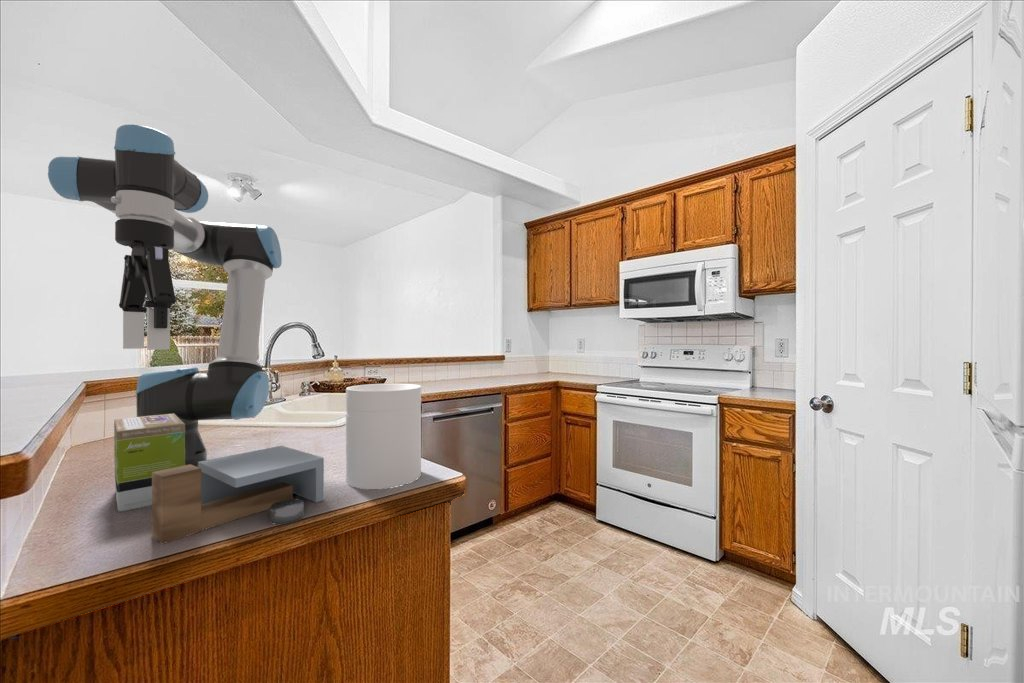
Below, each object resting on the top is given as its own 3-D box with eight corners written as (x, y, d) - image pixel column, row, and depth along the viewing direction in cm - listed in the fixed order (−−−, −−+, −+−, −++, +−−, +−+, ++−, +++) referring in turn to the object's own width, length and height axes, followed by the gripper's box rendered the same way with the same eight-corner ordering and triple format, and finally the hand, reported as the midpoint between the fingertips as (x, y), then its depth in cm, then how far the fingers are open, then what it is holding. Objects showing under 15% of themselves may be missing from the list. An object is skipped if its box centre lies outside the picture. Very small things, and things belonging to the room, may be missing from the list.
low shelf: (198, 505, 78) (198, 461, 78) (281, 483, 90) (281, 445, 90) (235, 528, 68) (235, 478, 68) (323, 500, 81) (323, 457, 81)
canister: (436, 474, 97) (436, 386, 97) (379, 495, 83) (379, 393, 83) (388, 462, 105) (388, 382, 105) (330, 480, 92) (330, 388, 92)
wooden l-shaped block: (151, 537, 65) (151, 472, 65) (281, 497, 82) (281, 445, 82) (162, 544, 63) (162, 476, 63) (293, 501, 80) (293, 448, 80)
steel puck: (264, 520, 72) (264, 505, 72) (294, 510, 76) (294, 496, 76) (279, 528, 69) (279, 512, 69) (309, 517, 73) (309, 503, 73)
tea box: (113, 491, 85) (113, 417, 85) (176, 480, 92) (176, 412, 92) (115, 513, 74) (116, 429, 74) (187, 498, 81) (187, 421, 81)
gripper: (97, 229, 76) (97, 348, 76) (138, 203, 61) (138, 350, 61) (150, 237, 82) (150, 347, 82) (200, 215, 67) (200, 349, 67)
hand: (145, 349), depth 72 cm, fingers open, 13 cm apart
